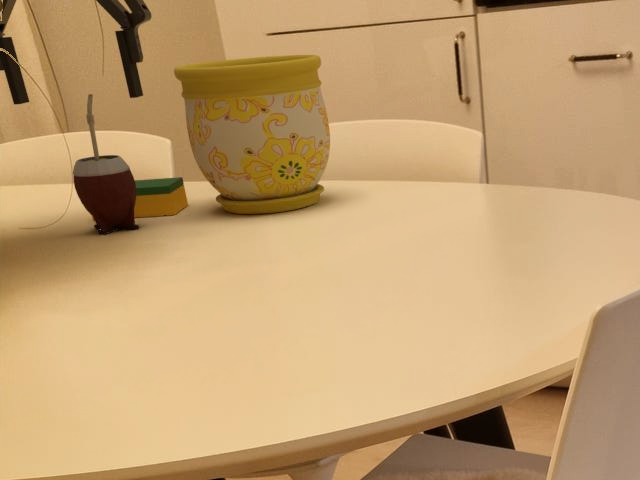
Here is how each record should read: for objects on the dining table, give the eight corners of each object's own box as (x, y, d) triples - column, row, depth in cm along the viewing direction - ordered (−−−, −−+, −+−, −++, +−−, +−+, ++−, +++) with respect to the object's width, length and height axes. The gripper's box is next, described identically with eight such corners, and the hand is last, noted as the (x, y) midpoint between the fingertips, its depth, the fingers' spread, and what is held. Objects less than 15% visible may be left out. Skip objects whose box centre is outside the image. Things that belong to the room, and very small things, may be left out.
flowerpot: (367, 195, 127) (350, 52, 118) (270, 223, 115) (242, 66, 106) (274, 189, 136) (251, 56, 127) (175, 214, 125) (142, 69, 115)
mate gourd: (110, 222, 122) (75, 89, 114) (162, 223, 120) (130, 87, 111) (73, 235, 116) (33, 96, 108) (126, 236, 114) (90, 94, 106)
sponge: (93, 220, 125) (85, 191, 123) (110, 210, 130) (102, 182, 128) (175, 214, 124) (168, 185, 122) (188, 204, 130) (182, 177, 128)
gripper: (149, -138, 101) (192, 91, 113) (-80, -123, 102) (-12, 102, 114) (127, -146, 95) (176, 96, 107) (-116, -131, 95) (-41, 109, 107)
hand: (79, 100), depth 110 cm, fingers open, 13 cm apart
